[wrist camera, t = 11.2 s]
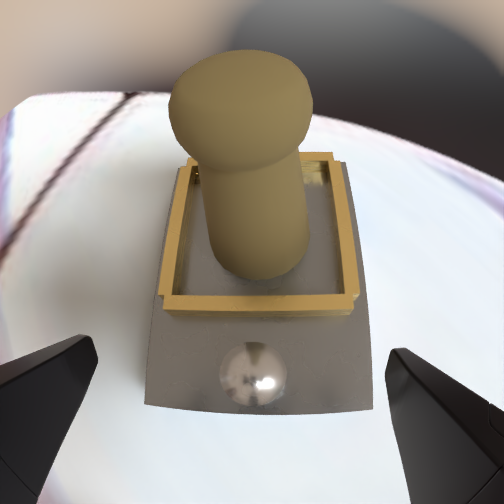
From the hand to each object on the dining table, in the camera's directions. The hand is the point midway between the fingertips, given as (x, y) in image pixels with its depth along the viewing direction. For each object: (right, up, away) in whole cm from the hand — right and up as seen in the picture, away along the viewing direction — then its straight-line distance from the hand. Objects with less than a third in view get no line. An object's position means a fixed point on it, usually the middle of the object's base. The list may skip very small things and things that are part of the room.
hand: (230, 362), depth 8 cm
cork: (+1, +4, +11) cm, 11 cm away
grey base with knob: (+1, +1, +12) cm, 12 cm away
